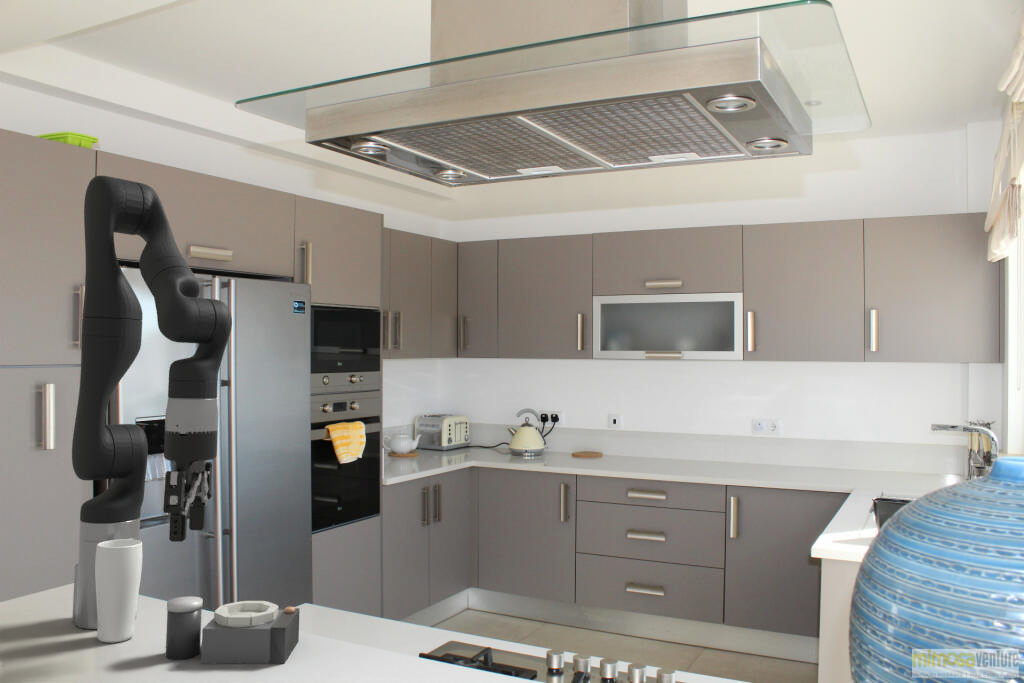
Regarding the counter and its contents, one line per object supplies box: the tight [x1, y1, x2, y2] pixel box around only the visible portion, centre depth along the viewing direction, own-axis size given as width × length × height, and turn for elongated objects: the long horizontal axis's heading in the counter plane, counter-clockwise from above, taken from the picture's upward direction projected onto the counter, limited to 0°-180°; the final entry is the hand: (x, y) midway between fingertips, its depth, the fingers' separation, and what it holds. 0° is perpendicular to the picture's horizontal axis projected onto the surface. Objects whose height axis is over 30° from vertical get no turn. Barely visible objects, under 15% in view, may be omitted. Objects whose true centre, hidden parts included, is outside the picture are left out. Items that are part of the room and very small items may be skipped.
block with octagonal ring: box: [200, 600, 301, 665], centre depth 124 cm, size 12×10×6 cm
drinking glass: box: [95, 539, 143, 644], centre depth 129 cm, size 7×7×15 cm
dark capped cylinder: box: [165, 596, 204, 661], centre depth 122 cm, size 5×5×8 cm
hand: (187, 535), depth 123 cm, fingers open, 8 cm apart
